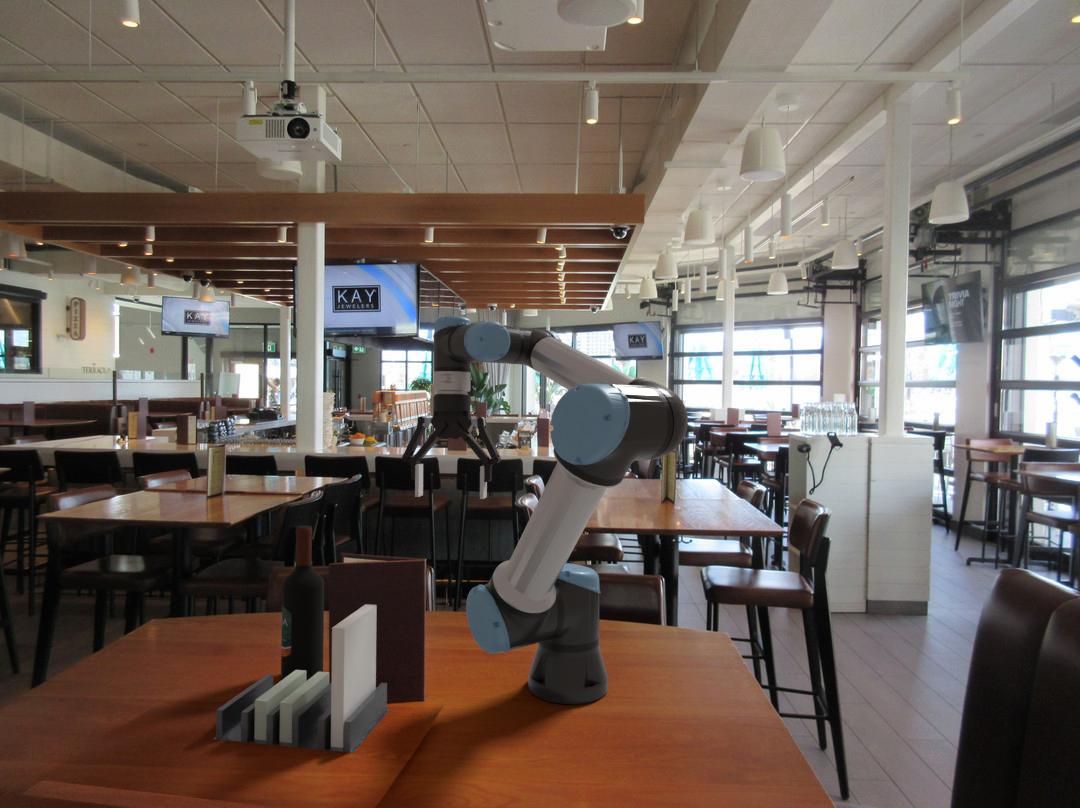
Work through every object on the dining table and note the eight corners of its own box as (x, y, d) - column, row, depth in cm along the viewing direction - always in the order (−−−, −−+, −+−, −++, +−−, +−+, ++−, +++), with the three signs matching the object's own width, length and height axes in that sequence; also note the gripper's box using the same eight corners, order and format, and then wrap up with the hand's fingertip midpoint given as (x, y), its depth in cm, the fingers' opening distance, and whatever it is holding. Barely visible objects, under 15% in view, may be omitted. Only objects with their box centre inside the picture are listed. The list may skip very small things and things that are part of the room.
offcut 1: (306, 705, 113) (306, 670, 113) (266, 740, 101) (266, 701, 101) (295, 704, 113) (295, 669, 113) (254, 739, 101) (254, 700, 101)
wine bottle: (309, 695, 120) (311, 531, 120) (272, 691, 122) (274, 529, 122) (330, 678, 127) (332, 524, 128) (295, 674, 129) (297, 522, 129)
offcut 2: (328, 707, 112) (329, 672, 112) (291, 742, 100) (292, 703, 100) (318, 706, 112) (318, 671, 112) (279, 741, 100) (279, 702, 100)
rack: (389, 718, 111) (389, 683, 111) (353, 762, 97) (353, 722, 97) (264, 707, 115) (265, 673, 115) (213, 748, 101) (213, 709, 101)
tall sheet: (375, 711, 111) (376, 605, 111) (343, 747, 99) (344, 628, 99) (364, 710, 111) (365, 604, 111) (330, 746, 99) (332, 627, 99)
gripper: (386, 392, 132) (385, 497, 132) (507, 393, 128) (506, 501, 128) (400, 393, 139) (399, 492, 139) (515, 394, 135) (514, 496, 135)
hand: (450, 497), depth 134 cm, fingers open, 13 cm apart
